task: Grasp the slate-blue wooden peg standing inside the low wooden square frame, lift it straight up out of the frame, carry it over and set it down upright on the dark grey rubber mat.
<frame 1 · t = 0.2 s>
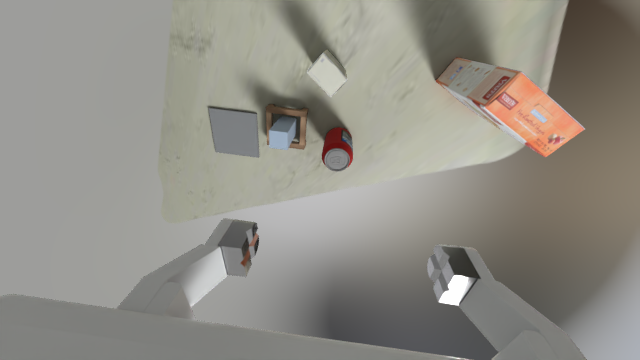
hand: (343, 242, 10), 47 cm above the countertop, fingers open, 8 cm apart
wooden square frame: (288, 125, 57), on the countertop
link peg: (283, 132, 53), in the wooden square frame
mat: (235, 133, 60), on the countertop
cracker box: (467, 88, 49), on the countertop
beverage can: (338, 138, 58), on the countertop
skincare box: (330, 67, 50), on the countertop
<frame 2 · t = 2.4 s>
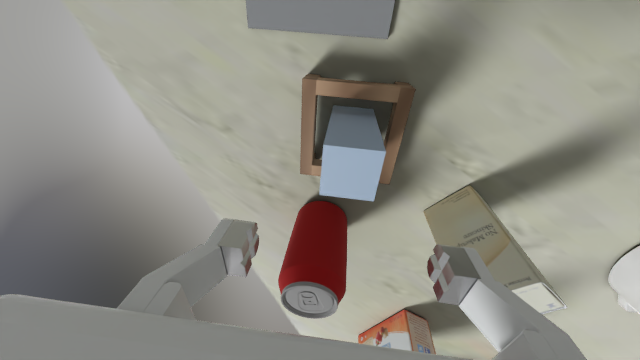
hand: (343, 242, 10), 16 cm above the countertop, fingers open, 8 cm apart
wooden square frame: (350, 126, 24), on the countertop
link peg: (350, 145, 20), in the wooden square frame
cracker box: (389, 326, 44), on the countertop
beverage can: (322, 215, 31), on the countertop
skincare box: (453, 207, 28), on the countertop
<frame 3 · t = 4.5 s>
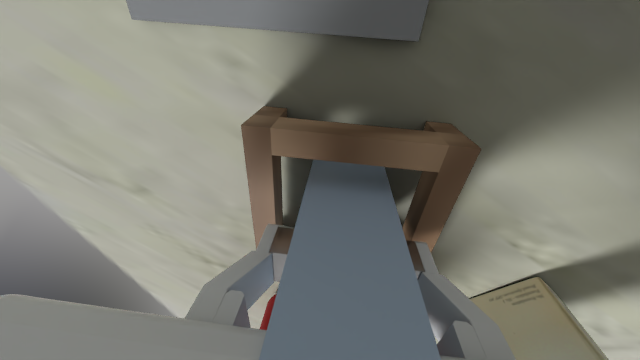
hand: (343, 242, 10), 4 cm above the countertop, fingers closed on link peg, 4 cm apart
wooden square frame: (344, 191, 14), on the countertop
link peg: (343, 257, 10), in the wooden square frame, touching gripper
skincare box: (504, 300, 18), on the countertop
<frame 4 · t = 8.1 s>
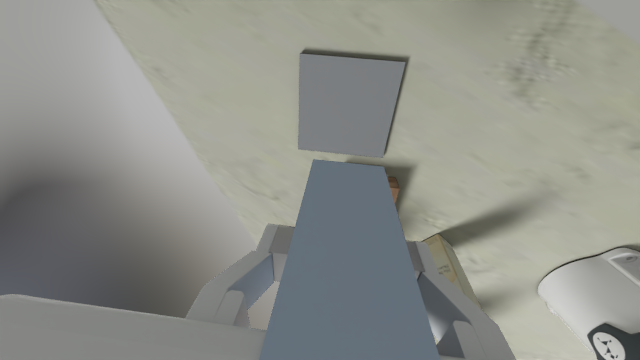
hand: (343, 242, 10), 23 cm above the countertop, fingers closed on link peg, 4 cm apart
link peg: (343, 258, 10), point 24 cm above the countertop, touching gripper
mat: (345, 109, 30), on the countertop
skincare box: (428, 246, 41), on the countertop
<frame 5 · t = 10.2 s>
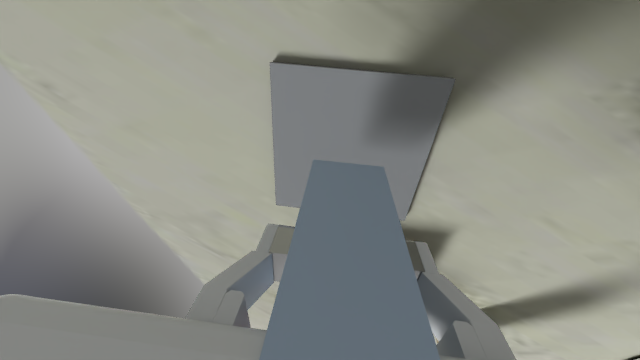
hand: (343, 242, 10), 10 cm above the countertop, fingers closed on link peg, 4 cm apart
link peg: (343, 258, 10), point 10 cm above the countertop, touching gripper
mat: (348, 151, 18), on the countertop
when the fingers open (6 cm above the countertop, at t = 11.9 s): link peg stays where it is, resting on mat.
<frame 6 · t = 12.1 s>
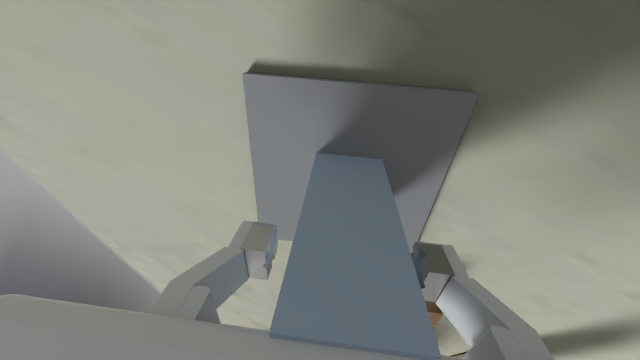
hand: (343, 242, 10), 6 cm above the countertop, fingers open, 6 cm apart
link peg: (344, 241, 11), on the mat, point 6 cm above the countertop
mat: (343, 177, 15), on the countertop
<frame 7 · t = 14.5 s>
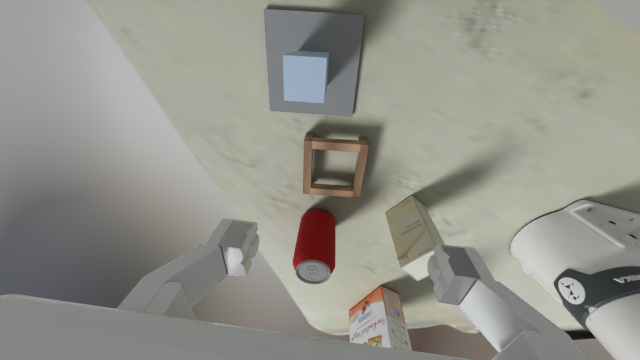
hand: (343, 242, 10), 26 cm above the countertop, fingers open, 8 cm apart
wooden square frame: (333, 162, 38), on the countertop
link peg: (309, 73, 26), on the mat, point 6 cm above the countertop
mat: (312, 67, 31), on the countertop
cracker box: (371, 300, 58), on the countertop
beverage can: (318, 219, 45), on the countertop
skincare box: (404, 210, 43), on the countertop
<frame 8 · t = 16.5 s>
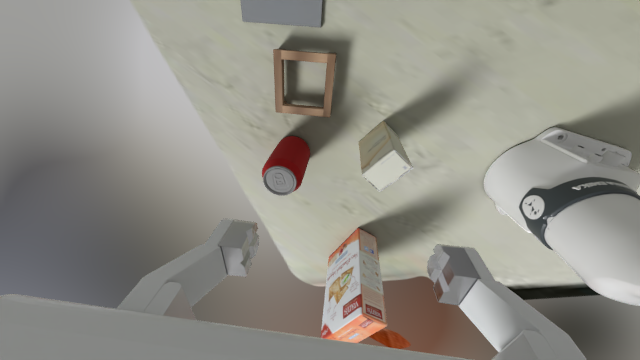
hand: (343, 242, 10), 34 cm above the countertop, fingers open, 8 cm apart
wooden square frame: (306, 82, 39), on the countertop
cracker box: (350, 246, 59), on the countertop
beverage can: (294, 149, 46), on the countertop
skincare box: (377, 139, 43), on the countertop
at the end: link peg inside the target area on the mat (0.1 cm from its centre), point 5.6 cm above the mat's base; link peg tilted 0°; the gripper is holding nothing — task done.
